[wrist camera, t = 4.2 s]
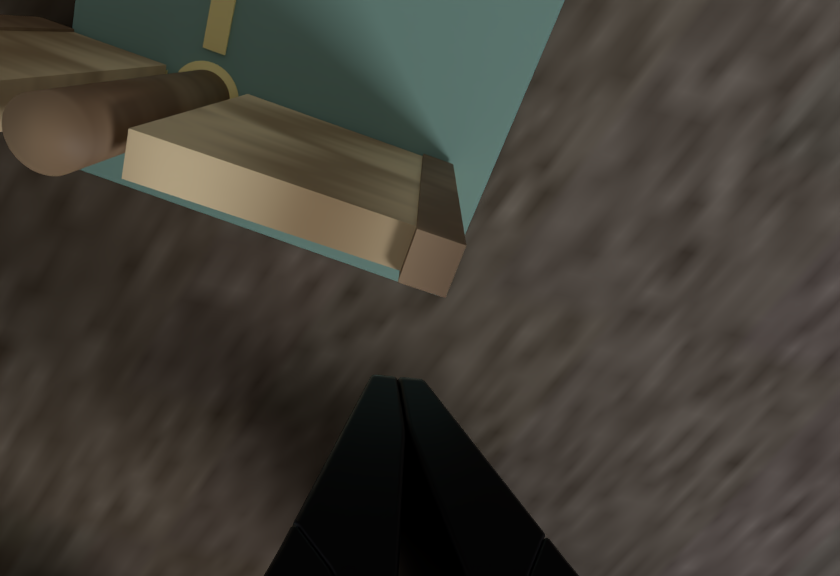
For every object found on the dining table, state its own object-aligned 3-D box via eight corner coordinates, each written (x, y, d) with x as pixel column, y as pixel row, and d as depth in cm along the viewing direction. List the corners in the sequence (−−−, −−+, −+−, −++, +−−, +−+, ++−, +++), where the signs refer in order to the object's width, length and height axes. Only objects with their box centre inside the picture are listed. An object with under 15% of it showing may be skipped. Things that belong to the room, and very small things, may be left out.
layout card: (575, -31, 20) (578, -32, 19) (438, 293, 25) (438, 296, 24) (109, -236, 18) (102, -241, 17) (60, 160, 23) (54, 161, 22)
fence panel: (240, 128, 22) (110, 187, 13) (248, 91, 21) (117, 127, 12) (440, 197, 23) (445, 297, 14) (453, 164, 22) (466, 245, 13)
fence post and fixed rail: (45, 62, 21) (-250, 79, 12) (48, 11, 21) (-260, -12, 11) (227, 126, 22) (82, 187, 13) (237, 79, 21) (90, 108, 12)
